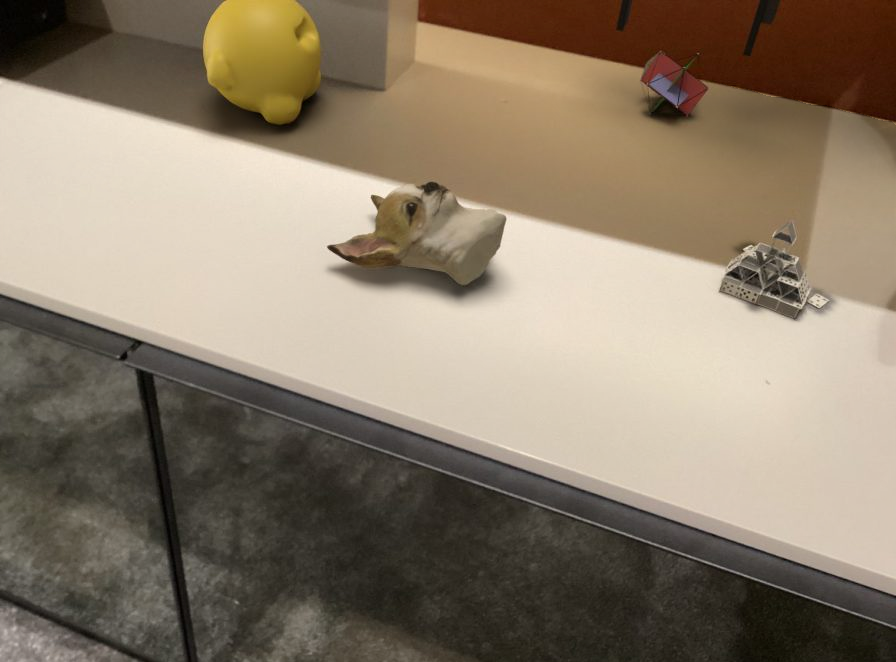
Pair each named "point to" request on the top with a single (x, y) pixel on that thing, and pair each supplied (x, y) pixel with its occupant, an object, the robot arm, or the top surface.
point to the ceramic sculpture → (427, 234)
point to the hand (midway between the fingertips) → (683, 38)
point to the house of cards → (771, 277)
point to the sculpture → (263, 56)
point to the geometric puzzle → (673, 83)
